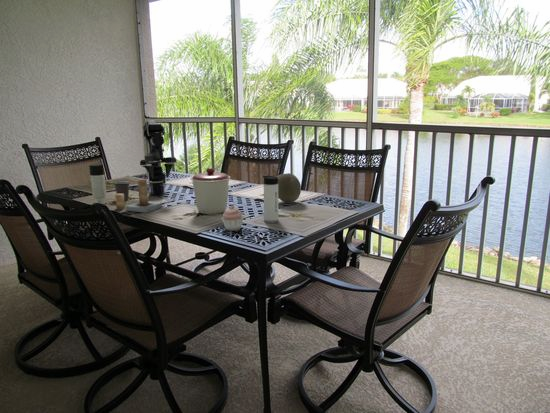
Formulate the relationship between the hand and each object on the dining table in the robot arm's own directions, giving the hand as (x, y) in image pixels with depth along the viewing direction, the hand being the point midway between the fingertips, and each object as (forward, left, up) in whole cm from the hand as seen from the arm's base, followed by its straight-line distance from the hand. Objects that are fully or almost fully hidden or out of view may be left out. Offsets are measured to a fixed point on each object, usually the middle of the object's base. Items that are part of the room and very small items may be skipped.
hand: (159, 178), depth 223 cm
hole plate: (+2, -16, -12) cm, 20 cm away
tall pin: (+2, -16, -12) cm, 20 cm away
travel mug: (+68, -13, -12) cm, 70 cm away
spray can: (-26, -16, -12) cm, 33 cm away
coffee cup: (-21, -5, -12) cm, 25 cm away
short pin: (-9, -20, -12) cm, 25 cm away
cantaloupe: (+62, +21, -12) cm, 67 cm away
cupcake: (+58, -29, -12) cm, 66 cm away
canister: (+36, -9, -12) cm, 39 cm away
